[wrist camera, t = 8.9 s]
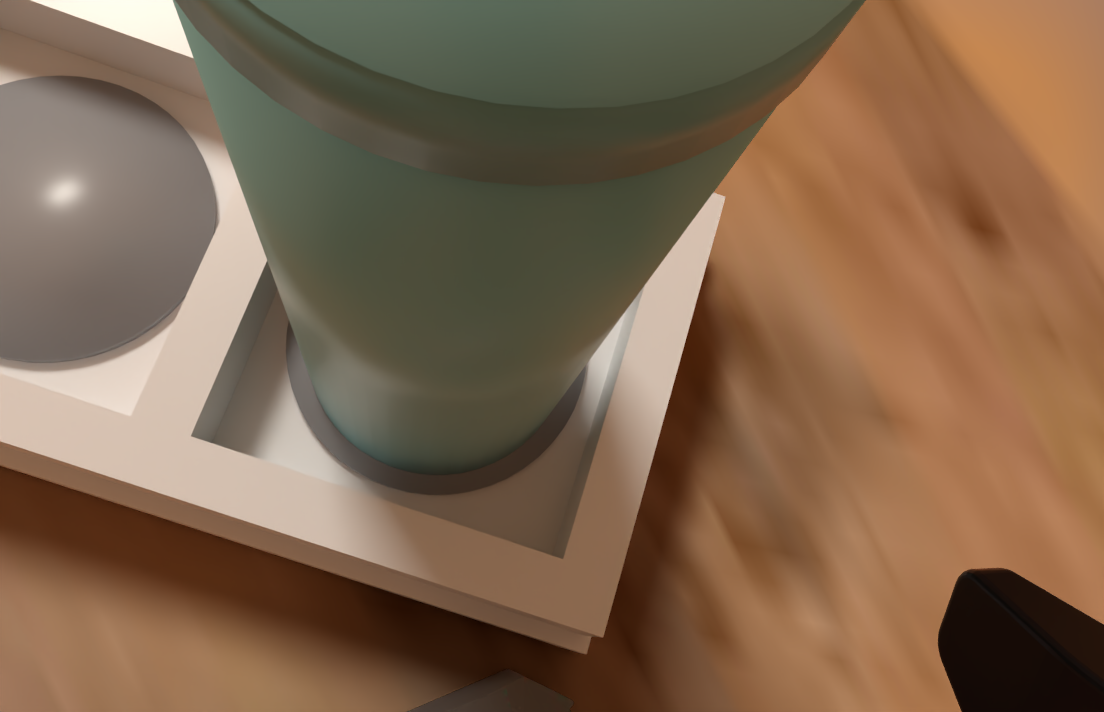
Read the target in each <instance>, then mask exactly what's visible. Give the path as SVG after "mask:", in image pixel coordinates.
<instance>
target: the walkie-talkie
mask: <svg viewBox="0 0 1104 712" xmlns="http://www.w3.org/2000/svg"><path fill="white" fill-rule="evenodd" d="M573 704H574V703H573V700H571V699H569V698H567V697H565V696H563V695H561V694H559V693H557V692H555V691H553V690H551V689H549V688H547V687H545V686H543V685H541V684H539V683H537V682H535V681H533V680H531V679H529V678H526V677H524V676H522V675H520V674H518V673H516V672H514V671H512V670H510V669H506V670H503V671H501V672H499V673H496V674H494V675H492V676H489V677H487V678H485V679H482V680H480V681H478V682H475V683H473V684H471V685H468V686H466V687H464V688H461V689H459V690H457V691H454V692H452V693H450V694H447V695H445V696H443V697H440V698H438V699H436V700H433V701H431V702H429V703H426V704H424V705H422V706H419V707H417V708H415V709H412V710H410V711H408V712H571V711H570V708H571V707H572V705H573Z"/></svg>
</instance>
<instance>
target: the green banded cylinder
mask: <svg viewBox="0 0 1104 712" xmlns="http://www.w3.org/2000/svg"><path fill="white" fill-rule="evenodd" d="M865 1H866V0H173V3H174V6H175V8H176V11H177V14H178V17H179V19H180V22H181V25H182V27H183V30H184V33H185V36H186V38H187V41H188V44H189V47H190V49H191V52H192V55H193V58H194V60H195V63H196V66H197V69H198V71H199V74H200V77H201V80H202V82H203V85H204V88H205V91H206V93H207V96H208V99H209V102H210V104H211V107H212V110H213V113H214V115H215V118H216V121H217V124H218V126H219V129H220V132H221V135H222V137H223V140H224V143H225V146H226V148H227V151H228V154H229V157H230V159H231V162H232V165H233V168H234V170H235V173H236V176H237V179H238V181H239V184H240V187H241V190H242V192H243V195H244V198H245V201H246V203H247V206H248V209H249V211H250V214H251V217H252V220H253V222H254V225H255V228H256V231H257V233H258V236H259V239H260V242H261V244H262V247H263V250H264V253H265V255H266V258H267V261H268V264H269V266H270V269H271V272H272V275H273V277H274V280H275V283H276V286H277V288H278V291H279V294H280V297H281V299H282V302H283V305H284V308H285V310H286V313H287V316H288V319H289V321H290V324H291V327H292V330H293V332H294V335H295V338H296V341H297V343H298V346H299V349H300V352H301V354H302V357H303V360H304V363H305V365H306V368H307V371H308V374H309V376H310V379H311V382H312V385H313V387H314V390H315V393H316V395H317V398H318V400H319V402H320V404H321V406H322V408H323V410H324V412H325V413H326V415H327V416H328V418H329V419H330V420H331V422H332V423H333V425H334V426H335V427H336V428H337V429H338V430H339V432H340V433H341V434H342V435H343V436H344V437H345V438H346V439H347V440H348V441H349V442H351V443H352V444H353V445H354V446H356V447H357V448H358V449H359V450H360V451H362V452H364V453H365V454H367V455H369V456H370V457H372V458H373V459H375V460H377V461H380V462H382V463H384V464H386V465H388V466H391V467H394V468H397V469H400V470H404V471H407V472H413V473H419V474H425V475H449V474H459V473H464V472H468V471H473V470H477V469H480V468H482V467H485V466H488V465H490V464H493V463H495V462H497V461H499V460H500V459H502V458H504V457H506V456H508V455H509V454H511V453H512V452H514V451H515V450H516V449H518V448H519V447H521V446H522V445H523V444H524V443H525V442H526V441H527V440H528V439H529V438H530V437H531V436H532V435H534V433H535V432H536V431H537V430H538V428H539V427H540V426H541V425H542V424H543V422H544V421H545V420H546V418H547V417H548V416H549V414H550V413H551V412H552V410H553V409H554V407H555V406H556V405H557V403H558V402H559V401H560V399H561V398H562V397H563V395H564V394H565V393H566V391H567V390H568V389H569V387H570V386H571V384H572V383H573V382H574V380H575V379H576V378H577V376H578V375H579V374H580V372H581V371H582V370H583V368H584V367H585V365H586V364H587V363H588V361H589V360H590V359H591V357H592V356H593V355H594V353H595V352H596V351H597V349H598V348H599V347H600V345H601V344H602V342H603V341H604V340H605V338H606V337H607V336H608V334H609V333H610V332H611V330H612V329H613V328H614V326H615V325H616V324H617V322H618V321H619V319H620V318H621V317H622V315H623V314H624V313H625V311H626V310H627V309H628V307H629V306H630V305H631V303H632V302H633V300H634V299H635V298H636V296H637V295H638V294H639V292H640V291H641V290H642V288H643V287H644V286H645V284H646V283H647V282H648V280H649V279H650V277H651V276H652V275H653V273H654V272H655V271H656V269H657V268H658V267H659V265H660V264H661V263H662V261H663V260H664V259H665V257H666V256H667V254H668V253H669V252H670V250H671V249H672V248H673V246H674V245H675V244H676V242H677V241H678V240H679V238H680V237H681V235H682V234H683V233H684V231H685V230H686V229H687V227H688V226H689V225H690V223H691V222H692V221H693V219H694V218H695V217H696V215H697V214H698V212H699V211H700V210H701V208H702V207H703V206H704V204H705V203H706V202H707V200H708V199H709V198H710V196H711V195H712V194H713V192H714V191H715V189H716V188H717V187H718V185H719V184H720V183H721V181H722V180H723V179H724V177H725V176H726V175H727V173H728V172H729V170H730V169H731V168H732V166H733V165H734V164H735V162H736V161H737V160H738V158H739V157H740V156H741V154H742V153H743V152H744V150H745V149H746V147H747V146H748V145H749V143H750V142H751V141H752V139H753V138H754V137H755V135H756V134H757V133H758V131H759V130H760V129H761V127H762V126H763V124H764V123H765V122H766V120H767V119H768V118H769V116H770V115H771V114H772V112H773V111H774V110H775V108H776V107H777V106H778V105H779V104H780V103H781V102H782V101H783V100H784V99H785V98H787V97H788V96H789V95H790V94H791V93H792V92H793V91H794V90H795V89H797V88H798V87H799V85H800V84H801V83H802V82H803V81H804V79H805V78H806V77H807V76H808V74H809V73H810V72H811V71H812V70H813V68H814V67H815V66H816V65H817V63H818V62H819V61H820V60H821V59H822V57H823V56H824V55H825V54H826V52H827V51H828V50H829V48H830V47H831V46H832V44H833V43H834V42H835V40H836V39H837V38H838V36H839V35H840V34H841V32H842V31H843V30H844V28H845V27H846V26H847V24H848V23H849V22H850V20H851V19H852V18H853V16H854V15H855V14H856V12H857V11H858V10H859V9H860V7H861V6H862V5H863V3H864V2H865Z"/></svg>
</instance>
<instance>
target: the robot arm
mask: <svg viewBox="0 0 1104 712" xmlns="http://www.w3.org/2000/svg"><path fill="white" fill-rule="evenodd" d="M938 648H939V653H940V657H941V660H942V663H943V666H944V668H945V671H946V673H947V676H948V678H949V681H950V683H951V686H952V688H953V691H954V694H955V696H956V699H957V701H958V704H959V706H960V709H961V711H962V712H1104V625H1103V624H1102V623H1100V622H1098V621H1096V620H1095V619H1093V618H1091V617H1090V616H1088V615H1086V614H1084V613H1083V612H1081V611H1079V610H1078V609H1076V608H1074V607H1073V606H1071V605H1069V604H1067V603H1066V602H1064V601H1062V600H1061V599H1059V598H1057V597H1055V596H1054V595H1052V594H1050V593H1049V592H1047V591H1045V590H1044V589H1042V588H1040V587H1038V586H1037V585H1035V584H1033V583H1032V582H1030V581H1028V580H1026V579H1025V578H1023V577H1021V576H1020V575H1018V574H1016V573H1014V572H1013V571H1011V570H1008V569H1004V568H987V569H970V570H967V571H964V572H963V573H962V574H961V575H960V576H959V577H958V579H957V581H956V584H955V587H954V590H953V593H952V595H951V598H950V601H949V604H948V607H947V609H946V612H945V615H944V618H943V621H942V623H941V626H940V629H939V634H938Z"/></svg>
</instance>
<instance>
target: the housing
mask: <svg viewBox="0 0 1104 712" xmlns="http://www.w3.org/2000/svg"><path fill="white" fill-rule="evenodd" d="M724 201H725V197H724V196H722V195H719V194H716V193H713V194H712V195H711V196H710V198H709V199H708V200H707V202H706V203H705V204H704V206H703V207H702V208H701V210H700V211H699V212H698V214H697V215H696V217H695V218H694V219H693V221H692V222H691V223H690V225H689V226H688V227H687V229H686V230H685V231H684V233H683V234H682V235H681V237H680V238H679V240H678V241H677V242H676V244H675V245H674V246H673V248H672V249H671V250H670V252H669V253H668V254H667V256H666V257H665V259H664V260H663V261H662V263H661V264H660V265H659V267H658V268H657V269H656V271H655V272H654V273H653V275H652V276H651V277H650V279H649V280H648V282H647V283H646V284H645V286H644V287H643V288H642V290H641V291H640V292H639V294H638V295H637V296H636V298H635V299H634V300H633V302H632V303H631V305H630V306H629V307H628V309H627V310H626V311H625V313H624V314H623V315H622V317H621V318H620V319H619V321H618V322H617V324H616V325H615V326H614V328H613V329H612V330H611V332H610V333H609V334H608V336H607V337H606V338H605V340H604V341H603V342H602V344H601V345H600V347H599V348H598V349H597V351H596V352H595V353H594V355H593V356H592V357H591V359H590V360H589V361H588V363H587V364H586V365H585V367H584V368H583V370H582V371H581V372H580V374H579V375H578V376H577V378H576V379H575V380H574V382H573V383H572V384H571V386H570V387H569V389H568V390H567V391H566V393H565V394H564V395H563V397H562V398H561V399H560V401H559V402H558V403H557V405H556V406H555V407H554V409H553V410H552V412H551V413H550V414H549V416H548V417H547V418H546V420H545V421H544V422H543V424H542V425H541V426H540V427H539V428H538V430H537V431H536V432H535V433H534V435H532V436H531V437H530V438H529V439H528V440H527V441H526V442H525V443H524V444H523V445H522V446H521V447H519V448H518V449H516V450H515V451H514V452H512V453H511V454H509V455H508V456H506V457H504V458H502V459H500V460H499V461H497V462H495V463H493V464H490V465H488V466H485V467H482V468H480V469H477V470H473V471H468V472H464V473H459V474H449V475H425V474H419V473H413V472H407V471H404V470H400V469H397V468H394V467H391V466H388V465H386V464H384V463H382V462H380V461H377V460H375V459H373V458H372V457H370V456H369V455H367V454H365V453H364V452H362V451H360V450H359V449H358V448H357V447H356V446H354V445H353V444H352V443H351V442H349V441H348V440H347V439H346V438H345V437H344V436H343V435H342V434H341V433H340V432H339V430H338V429H337V428H336V427H335V426H334V425H333V423H332V422H331V420H330V419H329V418H328V416H327V415H326V413H325V412H324V410H323V408H322V406H321V404H320V402H319V400H318V398H317V395H316V393H315V390H314V387H313V385H312V382H311V379H310V376H309V374H308V371H307V368H306V365H305V363H304V360H303V357H302V354H301V352H300V349H299V346H298V343H297V341H296V338H295V335H294V332H293V330H292V327H291V324H290V321H289V319H288V316H287V313H286V310H285V308H284V305H283V302H282V299H281V297H280V294H279V291H278V288H277V286H276V283H275V280H274V277H273V275H272V272H271V269H270V266H269V264H268V261H267V258H266V255H265V253H264V250H263V247H262V244H261V242H260V239H259V236H258V233H257V231H256V228H255V225H254V222H253V220H252V217H251V214H250V211H249V209H248V206H247V203H246V201H245V198H244V195H243V192H242V190H241V187H240V184H239V181H238V179H237V176H236V173H235V170H234V168H233V165H232V162H231V159H230V157H229V154H228V151H227V148H226V146H225V143H224V140H223V137H222V135H221V132H220V129H219V126H218V124H217V121H216V118H215V115H214V113H213V110H212V107H211V104H210V102H209V99H208V96H207V93H206V91H205V88H204V85H203V82H202V80H201V77H200V74H199V71H198V69H197V66H196V63H195V60H194V58H193V55H192V52H191V49H190V47H189V44H188V41H187V38H186V36H185V33H184V30H183V27H182V25H181V22H180V19H179V17H178V14H177V11H176V8H175V6H174V3H173V0H0V466H2V467H6V468H9V469H12V470H15V471H18V472H21V473H24V474H27V475H30V476H33V477H36V478H39V479H43V480H46V481H49V482H52V483H55V484H58V485H61V486H64V487H67V488H70V489H73V490H77V491H80V492H83V493H86V494H89V495H92V496H95V497H98V498H101V499H104V500H107V501H110V502H114V503H117V504H120V505H123V506H126V507H129V508H132V509H135V510H138V511H141V512H144V513H147V514H151V515H154V516H157V517H160V518H163V519H166V520H169V521H172V522H175V523H178V524H181V525H185V526H188V527H191V528H194V529H197V530H200V531H203V532H206V533H209V534H212V535H215V536H218V537H222V538H225V539H228V540H231V541H234V542H237V543H240V544H243V545H246V546H249V547H252V548H255V549H259V550H262V551H265V552H268V553H271V554H274V555H277V556H280V557H283V558H286V559H289V560H292V561H296V562H299V563H302V564H305V565H308V566H311V567H314V568H317V569H320V570H323V571H326V572H330V573H333V574H336V575H339V576H342V577H345V578H348V579H351V580H354V581H357V582H360V583H363V584H367V585H370V586H373V587H376V588H379V589H382V590H385V591H388V592H391V593H394V594H397V595H400V596H404V597H407V598H410V599H413V600H416V601H419V602H422V603H425V604H428V605H431V606H434V607H438V608H441V609H444V610H447V611H450V612H453V613H456V614H459V615H462V616H465V617H468V618H471V619H475V620H478V621H481V622H484V623H487V624H490V625H493V626H496V627H499V628H502V629H505V630H508V631H512V632H515V633H518V634H521V635H524V636H527V637H530V638H533V639H536V640H539V641H542V642H546V643H549V644H552V645H555V646H558V647H561V648H564V649H567V650H570V651H573V652H576V653H581V654H587V651H588V648H589V644H590V641H591V637H602V638H603V636H604V633H605V629H606V625H607V622H608V618H609V615H610V611H611V607H612V604H613V600H614V597H615V593H616V589H617V586H618V582H619V579H620V575H621V571H622V568H623V564H624V561H625V557H626V553H627V550H628V546H629V543H630V539H631V535H632V532H633V528H634V525H635V521H636V517H637V514H638V510H639V507H640V503H641V499H642V496H643V492H644V489H645V485H646V481H647V478H648V474H649V471H650V467H651V463H652V460H653V456H654V453H655V449H656V445H657V442H658V438H659V435H660V431H661V427H662V424H663V420H664V417H665V413H666V409H667V406H668V402H669V399H670V395H671V391H672V388H673V384H674V381H675V377H676V373H677V370H678V366H679V363H680V359H681V355H682V352H683V348H684V345H685V341H686V337H687V334H688V330H689V327H690V323H691V319H692V316H693V312H694V309H695V305H696V301H697V298H698V294H699V291H700V287H701V283H702V280H703V276H704V273H705V269H706V265H707V262H708V258H709V255H710V251H711V247H712V244H713V240H714V237H715V233H716V229H717V226H718V222H719V219H720V215H721V211H722V208H723V204H724Z"/></svg>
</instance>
